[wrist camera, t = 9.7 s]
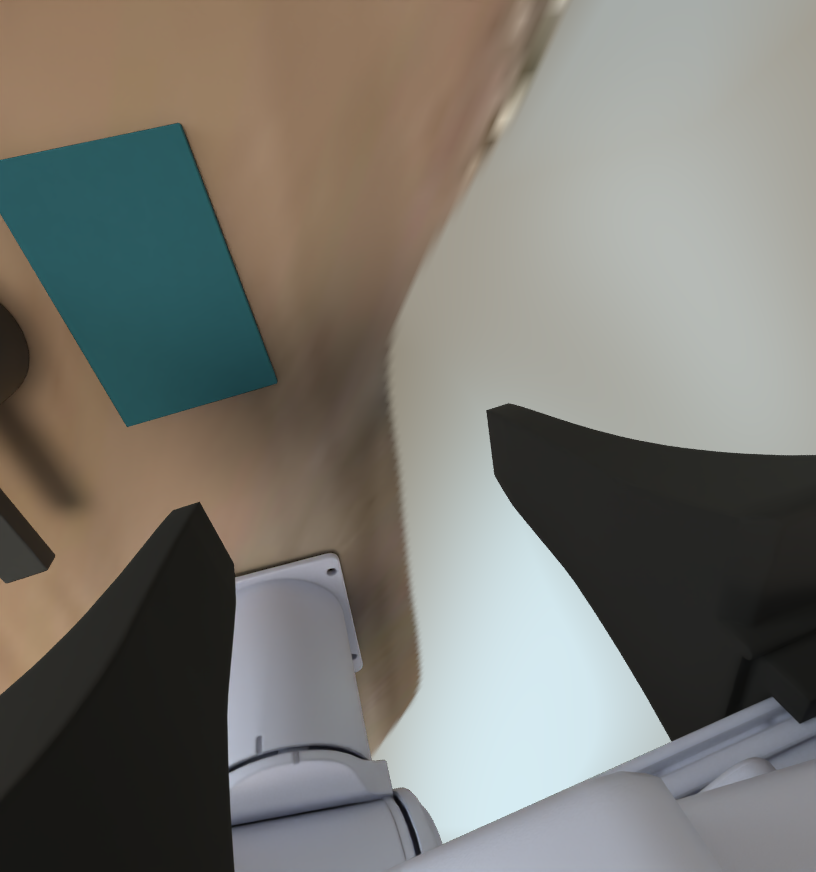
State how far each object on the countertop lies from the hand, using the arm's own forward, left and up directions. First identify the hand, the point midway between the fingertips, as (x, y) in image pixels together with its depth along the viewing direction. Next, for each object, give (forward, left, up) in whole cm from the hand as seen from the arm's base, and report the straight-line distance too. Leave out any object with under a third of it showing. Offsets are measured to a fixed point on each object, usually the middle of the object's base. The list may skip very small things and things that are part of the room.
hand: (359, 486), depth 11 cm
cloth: (+4, +5, -9) cm, 11 cm away
